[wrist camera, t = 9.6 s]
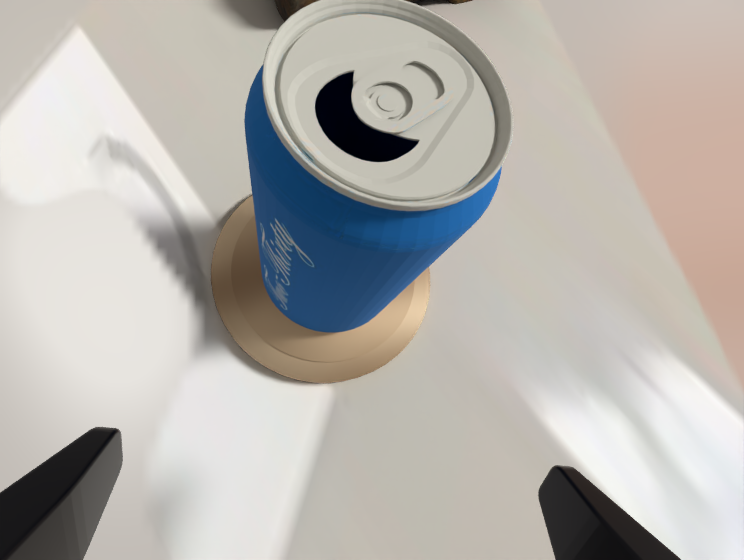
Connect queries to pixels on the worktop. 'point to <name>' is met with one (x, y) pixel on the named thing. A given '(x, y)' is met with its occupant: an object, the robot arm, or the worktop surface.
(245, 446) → the worktop surface
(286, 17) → the hand tool
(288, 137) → the beverage can
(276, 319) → the coaster
